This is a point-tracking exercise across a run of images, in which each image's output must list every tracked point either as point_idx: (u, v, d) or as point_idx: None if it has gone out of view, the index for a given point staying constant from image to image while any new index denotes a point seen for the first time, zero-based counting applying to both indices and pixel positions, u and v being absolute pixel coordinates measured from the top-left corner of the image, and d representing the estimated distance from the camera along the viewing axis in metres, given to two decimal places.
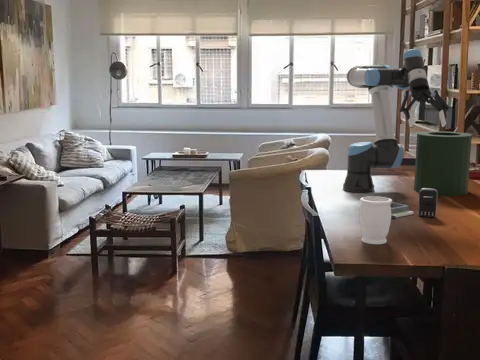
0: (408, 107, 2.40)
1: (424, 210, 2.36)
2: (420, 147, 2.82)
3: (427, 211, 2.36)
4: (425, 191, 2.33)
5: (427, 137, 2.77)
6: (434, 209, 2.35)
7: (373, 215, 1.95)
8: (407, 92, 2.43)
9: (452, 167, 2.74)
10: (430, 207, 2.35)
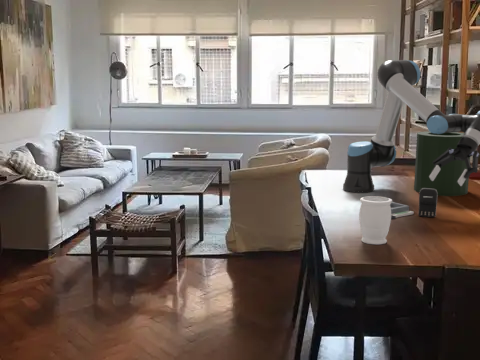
0: None
1: (424, 210, 2.36)
2: (420, 147, 2.82)
3: (427, 211, 2.36)
4: (425, 191, 2.33)
5: (427, 137, 2.77)
6: (434, 209, 2.35)
7: (373, 215, 1.95)
8: None
9: (452, 167, 2.74)
10: (430, 207, 2.35)
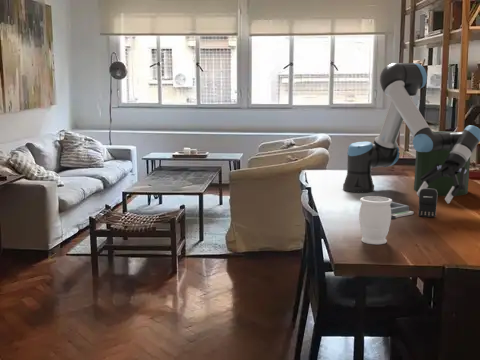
0: None
1: (424, 210, 2.36)
2: None
3: (427, 211, 2.36)
4: (425, 191, 2.33)
5: None
6: (434, 209, 2.35)
7: (373, 215, 1.95)
8: None
9: None
10: (430, 207, 2.35)
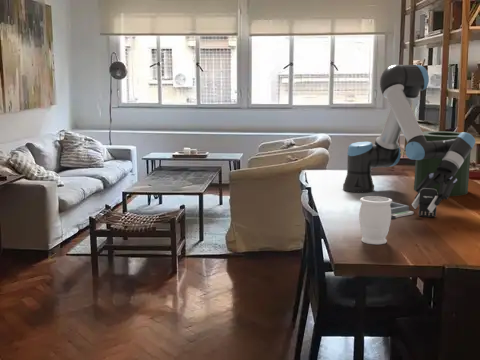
0: None
1: (424, 210, 2.36)
2: None
3: (427, 211, 2.36)
4: (425, 191, 2.33)
5: (427, 137, 2.77)
6: (434, 209, 2.35)
7: (373, 215, 1.95)
8: None
9: None
10: None
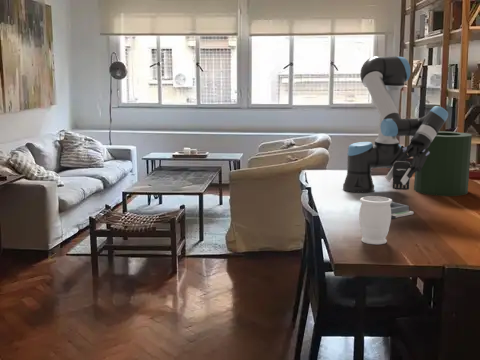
0: None
1: (398, 183, 2.39)
2: None
3: (401, 184, 2.39)
4: (398, 164, 2.36)
5: None
6: (407, 182, 2.38)
7: (373, 215, 1.95)
8: None
9: (452, 167, 2.74)
10: None
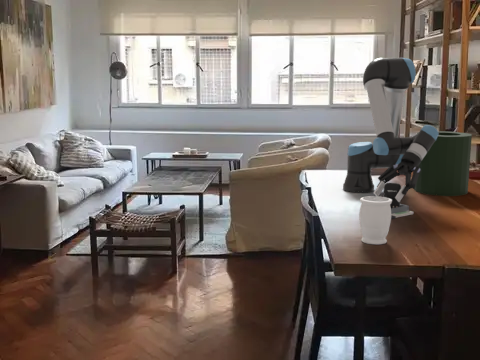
0: None
1: None
2: None
3: (391, 205, 2.42)
4: (389, 185, 2.40)
5: None
6: (398, 203, 2.41)
7: (373, 215, 1.95)
8: None
9: (452, 167, 2.74)
10: (394, 201, 2.42)
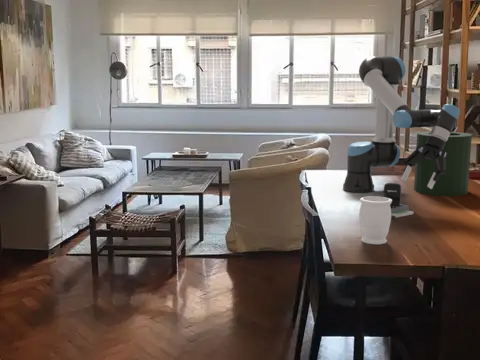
0: None
1: None
2: None
3: (391, 205, 2.42)
4: (389, 185, 2.40)
5: (427, 137, 2.77)
6: (398, 203, 2.41)
7: (373, 215, 1.95)
8: None
9: (452, 167, 2.74)
10: (394, 201, 2.42)
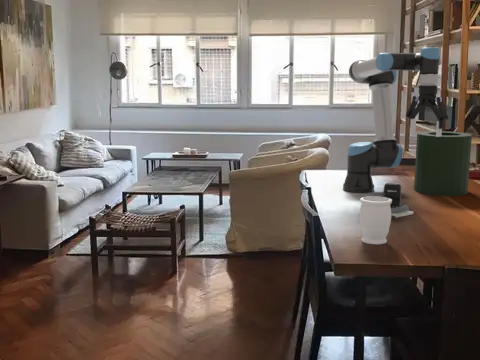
0: None
1: None
2: (420, 147, 2.82)
3: (391, 205, 2.42)
4: (389, 185, 2.40)
5: (427, 137, 2.77)
6: (398, 203, 2.41)
7: (373, 215, 1.95)
8: None
9: (452, 167, 2.74)
10: (394, 201, 2.42)
